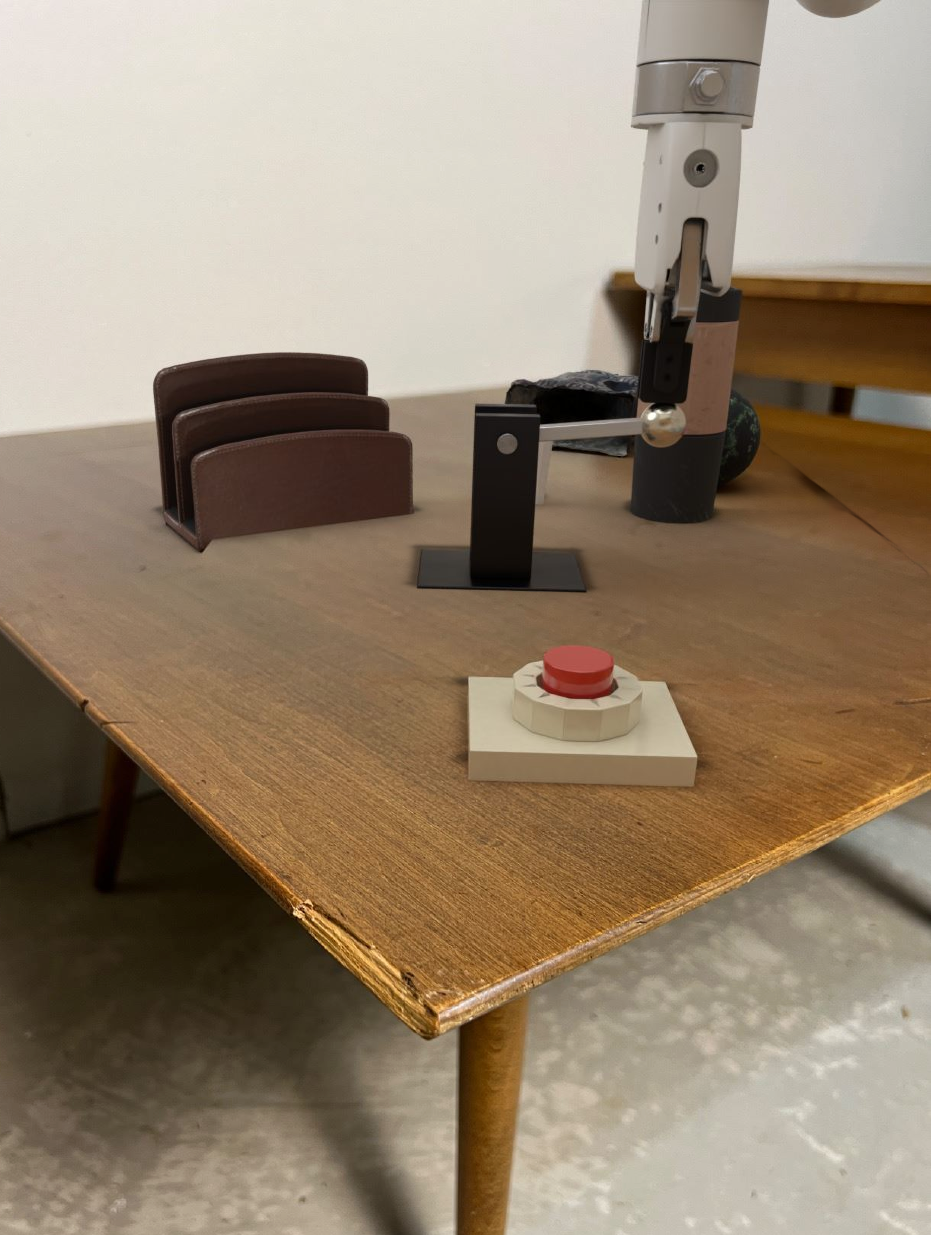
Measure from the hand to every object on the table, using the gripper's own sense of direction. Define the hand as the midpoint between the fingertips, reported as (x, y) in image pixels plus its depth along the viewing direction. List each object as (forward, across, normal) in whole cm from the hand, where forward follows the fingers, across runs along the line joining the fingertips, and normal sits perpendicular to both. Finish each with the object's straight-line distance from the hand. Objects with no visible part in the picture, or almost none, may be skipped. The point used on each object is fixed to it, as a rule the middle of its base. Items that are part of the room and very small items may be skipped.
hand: (660, 400), depth 74 cm
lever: (+4, 0, +5) cm, 6 cm away
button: (+11, -26, +8) cm, 29 cm away
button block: (+14, -26, +8) cm, 30 cm away
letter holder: (+14, +15, +29) cm, 35 cm away
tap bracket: (+14, 0, +11) cm, 17 cm away
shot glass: (+14, +22, +9) cm, 27 cm away
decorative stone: (+14, +33, -11) cm, 37 cm away
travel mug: (+14, +18, -5) cm, 23 cm away
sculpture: (+14, +62, -4) cm, 64 cm away
